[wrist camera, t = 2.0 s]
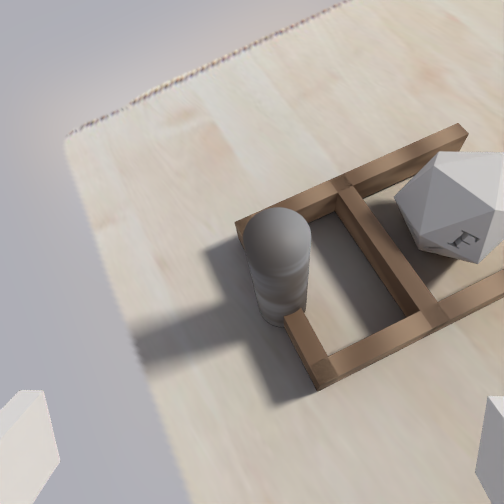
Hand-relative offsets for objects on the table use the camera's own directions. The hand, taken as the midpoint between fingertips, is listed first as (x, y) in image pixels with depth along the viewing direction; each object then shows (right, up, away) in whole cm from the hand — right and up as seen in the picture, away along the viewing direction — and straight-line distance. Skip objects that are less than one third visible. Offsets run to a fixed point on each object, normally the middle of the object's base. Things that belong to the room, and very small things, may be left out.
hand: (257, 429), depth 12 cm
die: (+17, +7, +24) cm, 31 cm away
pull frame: (+11, +5, +23) cm, 26 cm away
